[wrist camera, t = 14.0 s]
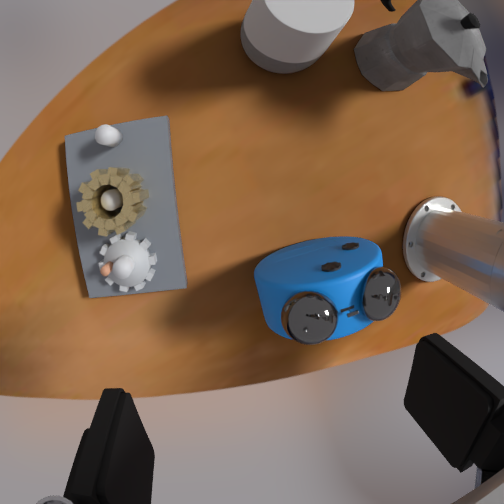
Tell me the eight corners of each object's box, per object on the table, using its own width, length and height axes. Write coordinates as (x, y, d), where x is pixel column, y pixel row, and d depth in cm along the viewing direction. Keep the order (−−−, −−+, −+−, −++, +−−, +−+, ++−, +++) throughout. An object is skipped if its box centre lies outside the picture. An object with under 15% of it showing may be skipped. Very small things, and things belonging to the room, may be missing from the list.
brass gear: (145, 163, 31) (135, 162, 26) (152, 222, 32) (143, 231, 28) (90, 173, 30) (73, 174, 25) (98, 230, 32) (82, 240, 27)
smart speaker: (248, 85, 32) (275, 38, 19) (228, 21, 29) (243, -46, 16) (323, 73, 33) (382, 33, 19) (302, 12, 30) (345, -46, 17)
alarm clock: (256, 301, 39) (285, 372, 24) (244, 254, 37) (270, 307, 23) (352, 272, 40) (419, 321, 25) (346, 226, 38) (418, 258, 24)
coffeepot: (427, 90, 35) (523, 70, 18) (387, 117, 35) (490, 98, 18) (367, 2, 30) (442, -56, 13) (319, 20, 31) (389, -52, 13)
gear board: (169, 118, 32) (162, 109, 26) (187, 282, 37) (185, 300, 31) (71, 137, 30) (51, 132, 25) (94, 291, 35) (79, 310, 30)
